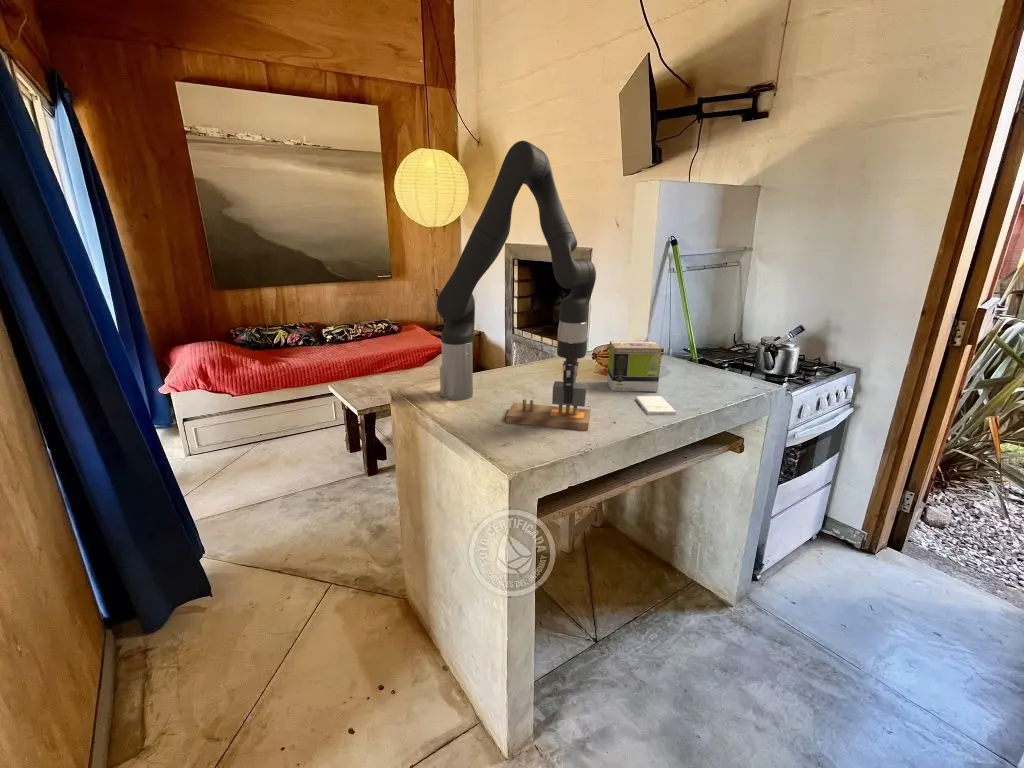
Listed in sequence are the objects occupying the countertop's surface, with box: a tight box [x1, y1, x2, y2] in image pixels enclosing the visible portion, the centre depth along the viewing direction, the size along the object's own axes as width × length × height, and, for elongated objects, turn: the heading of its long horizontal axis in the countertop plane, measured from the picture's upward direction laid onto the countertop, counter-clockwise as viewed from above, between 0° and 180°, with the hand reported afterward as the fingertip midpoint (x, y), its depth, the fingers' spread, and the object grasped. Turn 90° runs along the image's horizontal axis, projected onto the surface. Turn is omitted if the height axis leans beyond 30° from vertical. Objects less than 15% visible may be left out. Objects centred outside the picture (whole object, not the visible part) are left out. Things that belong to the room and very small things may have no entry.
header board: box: [505, 399, 591, 431], centre depth 135 cm, size 22×10×5 cm, turn 79°
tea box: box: [606, 340, 662, 393], centre depth 161 cm, size 15×10×15 cm, turn 88°
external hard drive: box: [635, 395, 677, 416], centre depth 146 cm, size 2×8×12 cm
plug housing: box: [551, 380, 587, 408], centre depth 133 cm, size 9×5×5 cm, turn 79°
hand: (568, 399), depth 133 cm, fingers closed on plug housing, 4 cm apart
